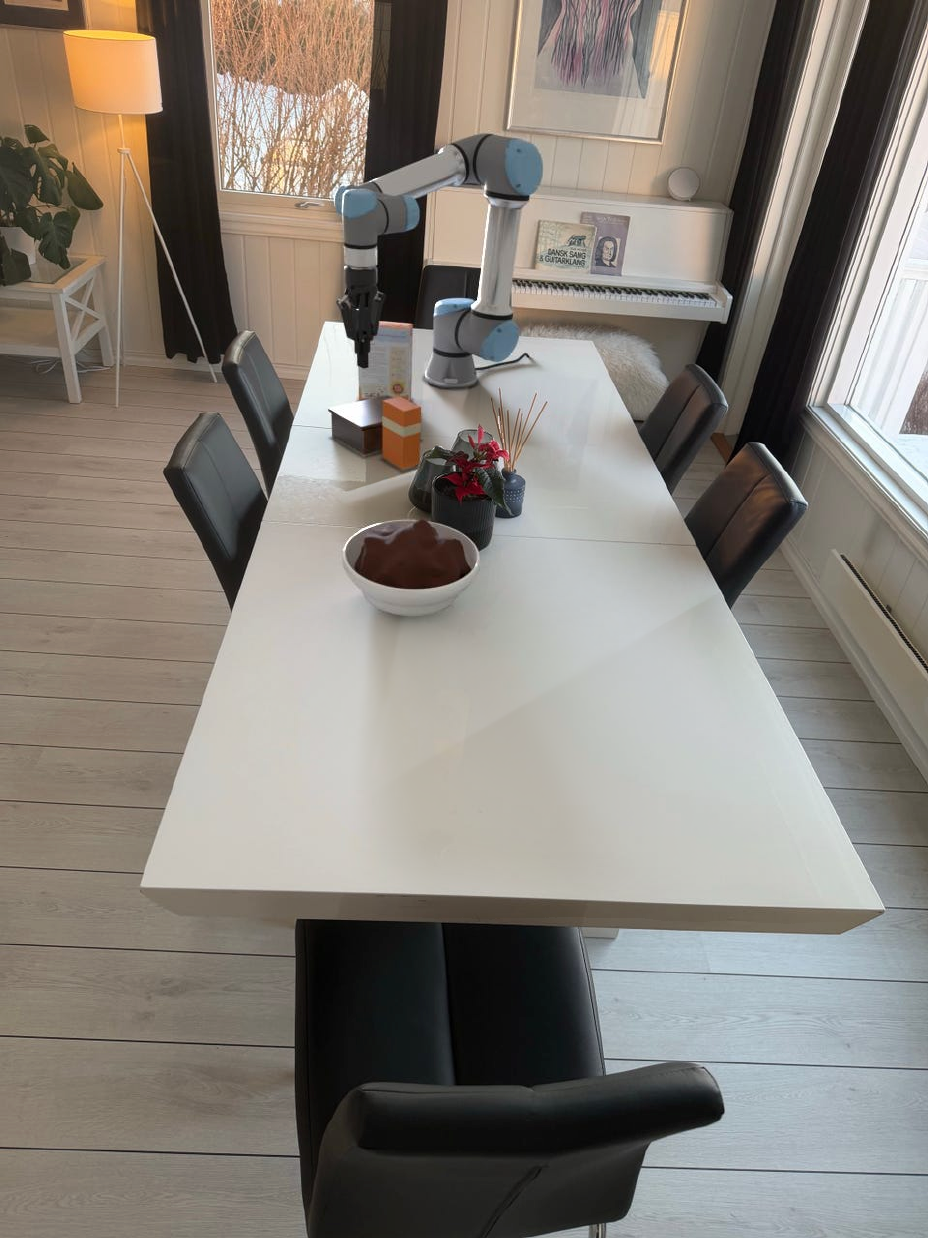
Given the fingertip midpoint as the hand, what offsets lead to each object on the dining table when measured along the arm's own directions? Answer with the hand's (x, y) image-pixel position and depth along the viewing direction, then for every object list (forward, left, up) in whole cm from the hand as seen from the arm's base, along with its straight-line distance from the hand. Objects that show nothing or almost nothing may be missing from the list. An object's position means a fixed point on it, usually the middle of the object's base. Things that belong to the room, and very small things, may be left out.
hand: (362, 366), depth 208 cm
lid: (+1, +6, -10) cm, 12 cm away
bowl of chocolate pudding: (+37, +66, -17) cm, 78 cm away
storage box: (0, +6, -17) cm, 18 cm away
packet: (+4, +20, -17) cm, 27 cm away
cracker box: (-18, -14, -17) cm, 28 cm away
